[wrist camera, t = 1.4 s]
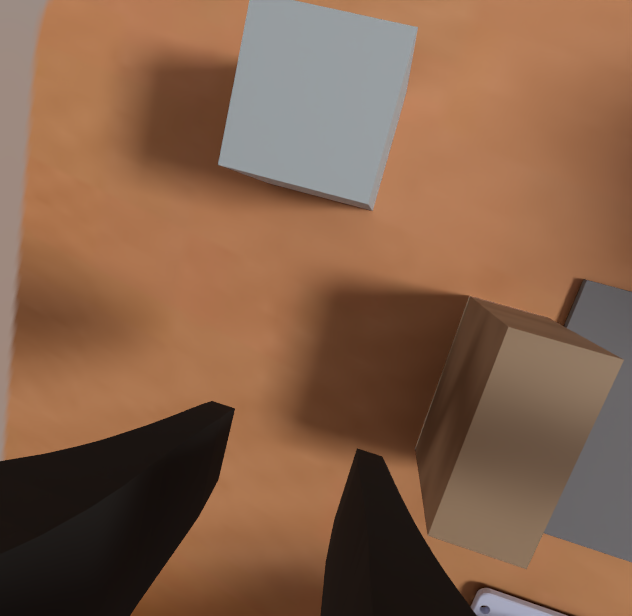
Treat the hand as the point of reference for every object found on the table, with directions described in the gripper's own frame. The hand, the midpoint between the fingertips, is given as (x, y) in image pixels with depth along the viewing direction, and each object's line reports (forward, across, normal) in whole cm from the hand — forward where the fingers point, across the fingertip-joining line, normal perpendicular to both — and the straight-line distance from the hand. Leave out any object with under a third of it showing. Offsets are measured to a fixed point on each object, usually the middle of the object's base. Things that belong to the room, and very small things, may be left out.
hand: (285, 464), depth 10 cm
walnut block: (+10, -7, 0) cm, 13 cm away
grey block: (+10, +2, -9) cm, 14 cm away
